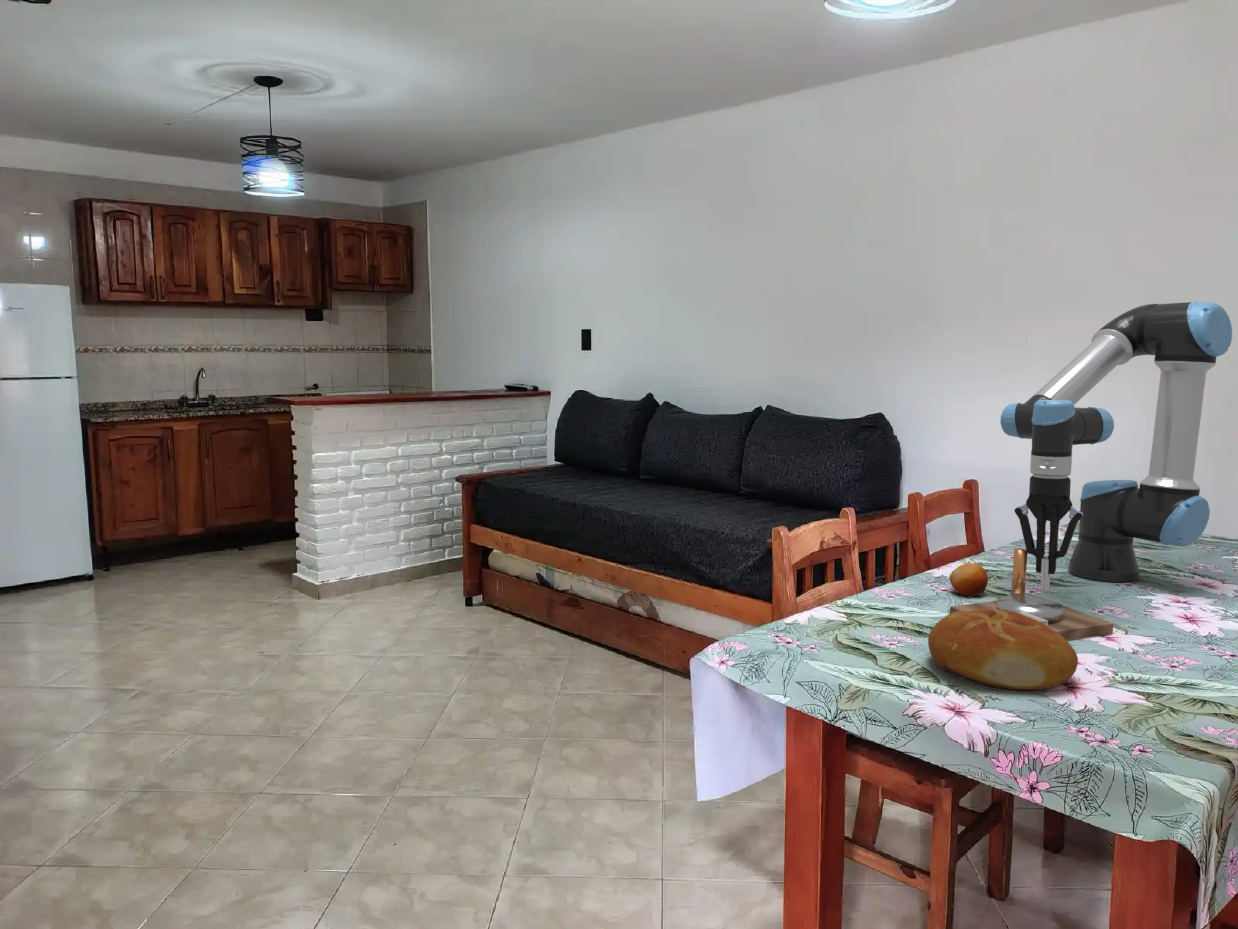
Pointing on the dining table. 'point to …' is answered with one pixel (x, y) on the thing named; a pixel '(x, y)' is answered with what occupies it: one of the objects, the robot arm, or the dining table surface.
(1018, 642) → the bread
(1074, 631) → the board
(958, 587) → the fruit
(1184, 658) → the dining table surface
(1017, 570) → the cam disc
